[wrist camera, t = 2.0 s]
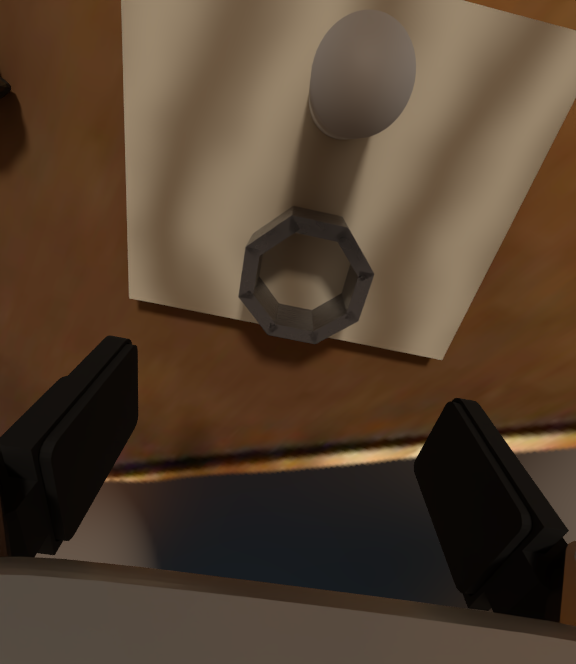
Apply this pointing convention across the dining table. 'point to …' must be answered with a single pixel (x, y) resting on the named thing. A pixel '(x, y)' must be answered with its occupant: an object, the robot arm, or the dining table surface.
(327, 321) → the ring
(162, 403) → the dining table surface
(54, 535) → the robot arm
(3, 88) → the hand tool
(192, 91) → the board
